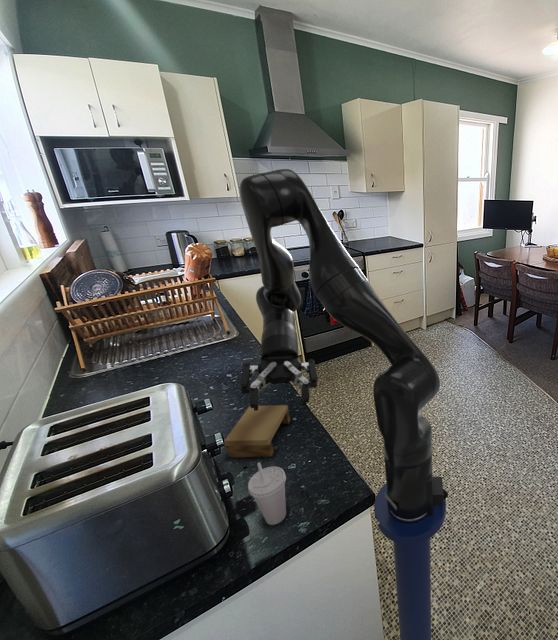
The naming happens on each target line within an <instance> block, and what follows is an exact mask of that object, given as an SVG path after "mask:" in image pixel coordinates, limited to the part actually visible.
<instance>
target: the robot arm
mask: <svg viewBox="0 0 558 640" xmlns="http://www.w3.org/2000/svg"><path fill="white" fill-rule="evenodd" d="M239 199H240V203H241V206H242V211H243V213H244V216H245V220H246V223H247V226H248V229H249V232H250V235H251V238H252V241H253V244H254V247H255V250H256V253H257V257H258V260H259V261H258V262H259V267H260V268H259V269H260V276H261V282H262V286H261V287H259V288H258V289H257V291H256V294H255V301H256V305H257V307H258V310H259V312H260V314H261V316H262V333H261V343H260V362H259V363H258V365H251V364H250V363H249V362H244V363H243V365H242V370H241V371H242V372H241V376H240V382H239V387H240V393H241V394H243V395H246V394H249V406H250V407H251V408H254V411H257V410H258V406H259V402H260V401H259V399H260V394H259V393H260V392H262V390H265V389H266V388H267V387H268V386H269V385H270V384H271V385H278V384H289V383H290V382H291V384H293V385H294V386H295V387H298V388H300V389H301V390H300V394H301V406H302V407H304V406H305V407H306V406H307V403H308V404H309V402H310V397H311V396H310V389H312V388H313V389H315V388H317V387H318V380H319V379H318V378H319V377H318V373H317V368H316V363H315V359H313V358H310V359H308V361H307V362H306V361H304V362H301V361H300V358H299V342H298V334H297V329H296V316H295V314H294V312H296V311H298V310H299V309H300V307H301V305H302V294H301V292H300V289H299V288H298V286H297V284H296V282H295V266H294V265H295V264H294V259H293V256H292V254H291V253H290V252H289V250H288V249H287V248H285V246H283V244H281V243H280V242H279V241H277V240H276V239H275V238H274V237H273V236H272V232H271V230H272V228H276V227H280V226H284V225H286V224H289V223H293V222H295V221H297V222H298V223H299V224H300V226H301V227H302V229H303V230H304V232H305V234H306V237H307V239H308V245H309V267H308V269H309V271H308V272H309V273H308V274H309V284H310V286H311V289H312V291H313V293H314V294H315V296H316V297H317V299H318V300H319V301H320V303H321V305H322V306H323V308H324V309H325V310H326V312H327V313H328V314H329V315H330V317H331V318H332V320H334V321H335V322H337V323H338V324H339V325H341V326H343V327H344V328H346V329H348V330H349V331H352V332H354V333H355V334H357V335H359V336H361V337H363V338H365V339H367V340H368V341H369V342H371V343H372V344H373V345H375V346H376V347H377V348H378V349H379V351H381V353H382V354H383V355H384V356H385V358H386V359H387V360H388V362H389V363H390V366H389V367H387V368H386V369H385V370H383V371H382V372H381V373H379V374H378V375H377V376H376V378H374V379H375V380H374V382H373V388H372V395H373V403H374V409H375V416H376V425H377V427H378V430H379V432H380V435H381V437H382V443H383V457H384V469H385V470H384V472H385V484H387V495H386V493H385V497H386V499H387V503H388V510H389V512H390V514H391V515H392V517H393V518H395V519H396V520H398V521H400V522H403V523H415V522H418V521H421V520H422V519H424V518H425V517H426V516H431V515H433V505H443V500H444V499H446V500H447V498H448V497H449V492H448V490H446V489H445V488H444V482H443V476H433V429H432V425H431V423H430V421H429V420H428V418H427V417H425V416H423V415H421V414H420V413H419V412H420V411H421V410H422V409H423V408H424V407H426V405H428V404H429V402H431V401H432V400H433V399H434V398H435V397H436V395H438V393H439V391H440V389H441V388H440V387H441V380H440V377H439V373H438V371H437V370H436V367H435V366H434V364H433V363H432V361H431V360H430V359H429V358H428V356H427V355H426V354H425V353H424V352H423V350H422V349H421V348H420V347H419V346H418V344H417V343H415V341H414V340H413V339H412V338H411V337H410V336H409V334H408V333H407V332H406V331H405V330H404V328H403V327H402V326H401V325H400V323H399V322H398V321H397V319H396V318H395V316H394V315H393V314H392V312H391V311H390V310H389V309H388V307H387V306H386V305H385V303H384V302H383V301H382V299H381V298H380V297H379V295H378V293H377V292H376V290H375V289H374V288H373V286H372V284H371V282H370V281H369V280H368V278H367V277H366V276H365V274H364V272H363V271H362V270H361V268H360V267H359V265H358V264H357V263H356V262H355V260H354V259H353V258H352V257H351V255H350V254H349V252H348V251H347V249H346V248H345V246H344V245H343V244H342V242H341V241H340V239H339V238H338V236H337V235H336V233H335V232H334V230H333V229H332V227H331V225H330V224H329V222H328V220H327V219H326V217H325V215H324V214H323V211H322V210H321V208H320V207H319V205H318V203H317V201H316V200H315V198H314V196H313V195H312V193H311V191H310V189H309V188H308V186H307V185H306V183H305V182H304V181H303V178H302V177H300V176H299V174H297V172H295V171H294V170H292V169H289V168H281V169H275V170H270V171H266V172H261V173H257V174H252V175H248V176H246V177H244V178H242V179H241V181H240V183H239ZM301 370H304V371H305V372H306V373H307V374H308V376H309V378H307V377H305V376H304V375H303V373H302V372H301ZM256 373H258V376H257V378H256V379H255V380H253V382H252V383H250V380H251V378H253V376H254V375H255V374H256ZM443 494H444V495H443Z"/></svg>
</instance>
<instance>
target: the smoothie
mask: <svg viewBox="0 0 558 640" xmlns="http://www.w3.org/2000/svg"><path fill="white" fill-rule="evenodd" d="M256 466H257V469H258V471H257V472H255V473H254V474H253V475H252V476H251V477H250V479H249V480H248V483H247V489H248V494H249V495H250V496H251V497H253V500H254V501H255V502H256V504H257V507H258V508H259V511H260V512H261V514H262V517H263V519H264V520H265V522H266V524H268V525H270V526H275V525H278V524H280V523H281V522H283V520H284V519H285V518H286V516H287V504H286V503H287V502H286V486H285V485H286V480H287V476H286V473H285V471H284V469H283V468H282V467H280V466H273V465H272V466H267V467H264V468H263V467H262V464H261V462H260V461H259V462H257V463H256Z"/></svg>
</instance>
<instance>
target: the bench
mask: <svg viewBox="0 0 558 640" xmlns="http://www.w3.org/2000/svg"><path fill="white" fill-rule="evenodd" d="M289 411H290V410H289V407H288V404H280V405H277V404H276V405H258V410H257V411H254V408H251V407H250V405H249V406H248V407H247V409H246V410H245V411H244V413H243V414H242V416H241V417H240V418H239V420H238V421H237V423H236V424H235V425H234V426H233V428H232V429H231V431H230V432H229V433H228V434H227V436H226V437H225V438H224V440H223V442H224V445H225V448H226V452H227V455H228V458H258V457H261V458H262V457H265V458H267V457H273V455H274V452H275V451H274V447H273V442H272V440H273V437H275V435H276V433H277V431H278V429H279V427H280V425H289V424H290V422H291V416H290V412H289Z"/></svg>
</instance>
